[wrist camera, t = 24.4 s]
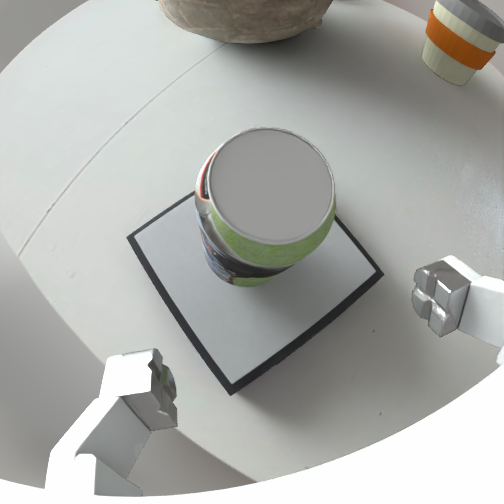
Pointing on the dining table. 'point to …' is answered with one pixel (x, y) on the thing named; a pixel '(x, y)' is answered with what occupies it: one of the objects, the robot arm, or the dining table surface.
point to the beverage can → (263, 204)
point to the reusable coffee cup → (461, 38)
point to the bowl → (246, 18)
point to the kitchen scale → (249, 294)
